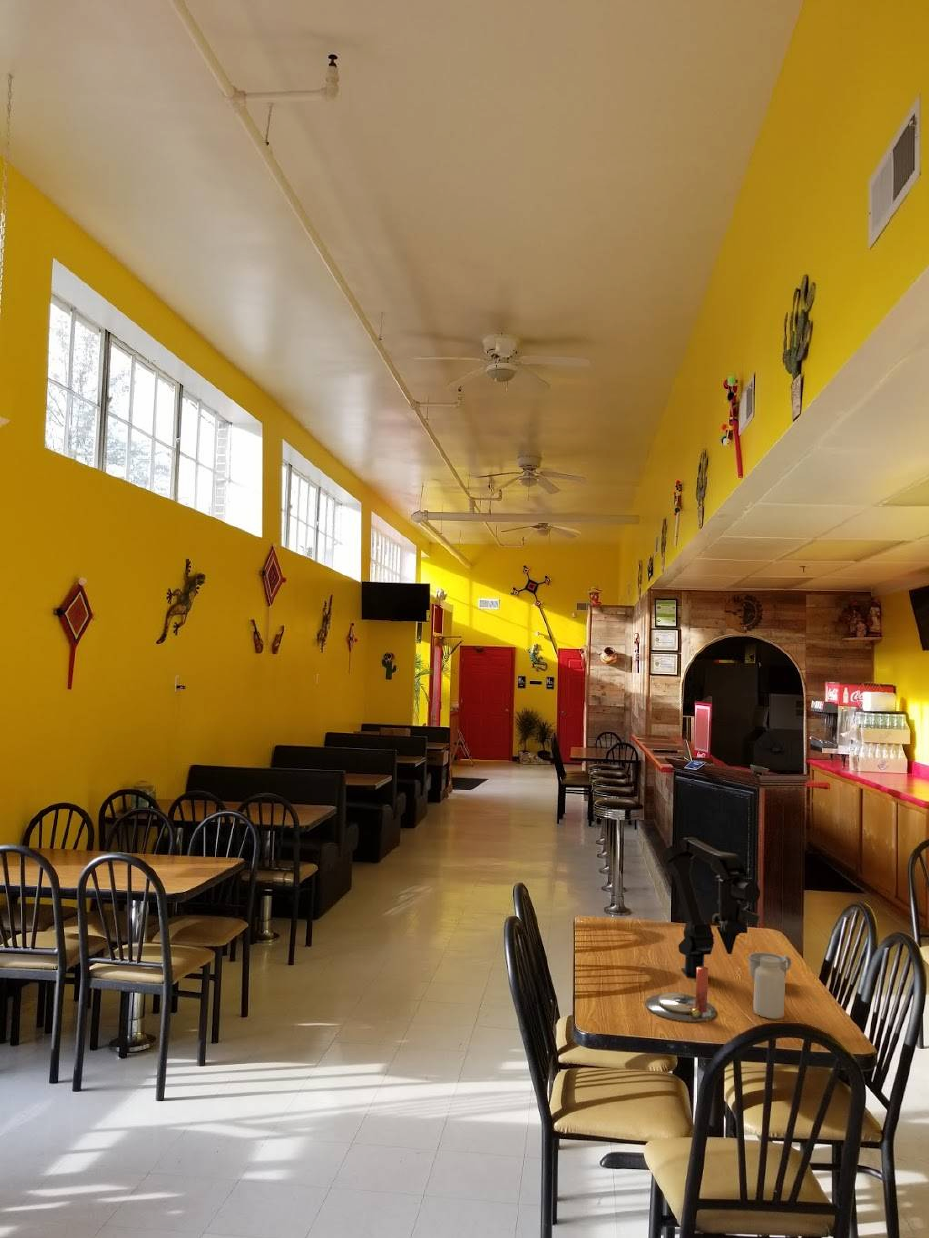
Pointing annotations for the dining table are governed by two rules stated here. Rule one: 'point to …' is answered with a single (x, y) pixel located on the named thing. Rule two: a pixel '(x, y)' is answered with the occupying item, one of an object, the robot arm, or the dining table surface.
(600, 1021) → the dining table surface
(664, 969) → the dining table surface
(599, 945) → the dining table surface
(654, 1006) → the post plate
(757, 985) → the pill bottle
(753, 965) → the teacup
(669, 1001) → the flange
